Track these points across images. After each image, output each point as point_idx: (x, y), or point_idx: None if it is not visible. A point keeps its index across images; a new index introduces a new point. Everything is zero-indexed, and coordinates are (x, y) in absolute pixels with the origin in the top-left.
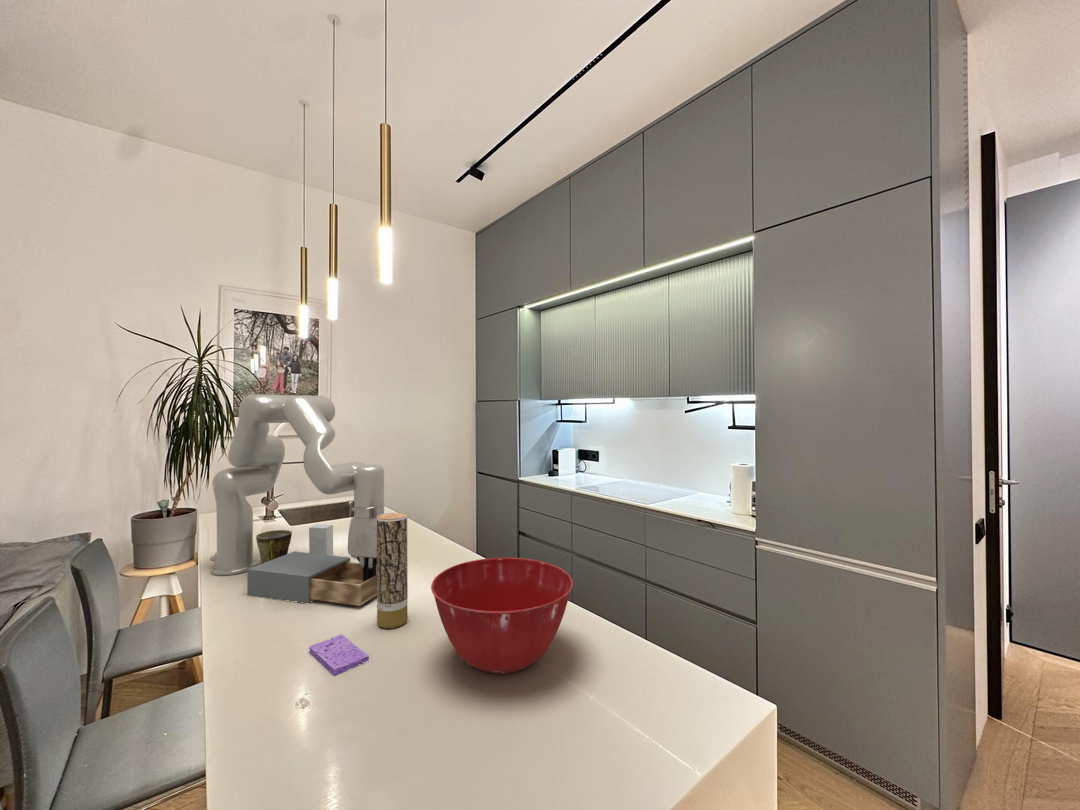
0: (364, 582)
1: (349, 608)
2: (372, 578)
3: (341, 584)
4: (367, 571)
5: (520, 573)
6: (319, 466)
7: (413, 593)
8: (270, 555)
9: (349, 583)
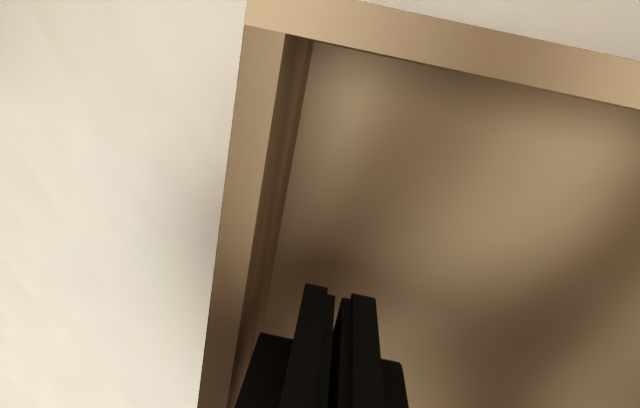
0: (242, 125)
1: None
2: (212, 284)
3: (623, 63)
4: (294, 385)
5: None
6: None
7: (57, 329)
8: None
9: (478, 55)
